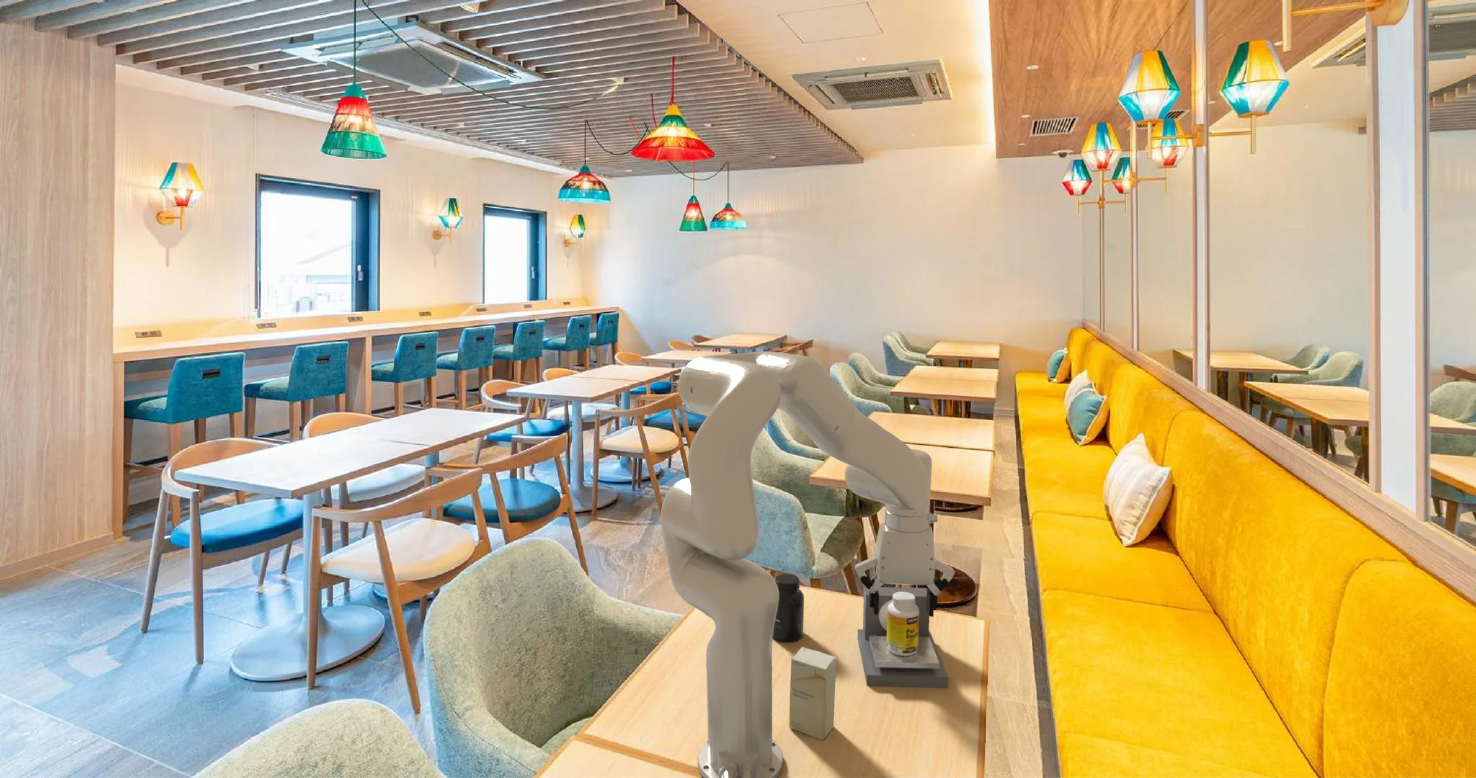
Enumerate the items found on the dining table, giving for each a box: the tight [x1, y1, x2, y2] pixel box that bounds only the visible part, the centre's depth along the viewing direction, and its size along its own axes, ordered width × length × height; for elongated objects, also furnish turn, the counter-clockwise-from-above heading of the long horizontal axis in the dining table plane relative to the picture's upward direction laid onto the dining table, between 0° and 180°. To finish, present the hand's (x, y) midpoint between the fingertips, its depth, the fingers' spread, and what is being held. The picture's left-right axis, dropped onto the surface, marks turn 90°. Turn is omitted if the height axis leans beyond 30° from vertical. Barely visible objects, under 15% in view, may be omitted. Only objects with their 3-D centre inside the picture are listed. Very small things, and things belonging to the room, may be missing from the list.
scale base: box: [857, 586, 949, 689], centre depth 132 cm, size 16×14×11 cm
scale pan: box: [869, 636, 939, 669], centre depth 129 cm, size 9×11×2 cm
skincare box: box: [788, 646, 837, 741], centre depth 113 cm, size 6×4×12 cm
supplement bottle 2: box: [887, 592, 919, 656], centre depth 128 cm, size 6×6×10 cm
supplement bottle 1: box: [773, 573, 805, 643], centre depth 142 cm, size 7×7×12 cm
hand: (902, 612), depth 127 cm, fingers open, 9 cm apart
